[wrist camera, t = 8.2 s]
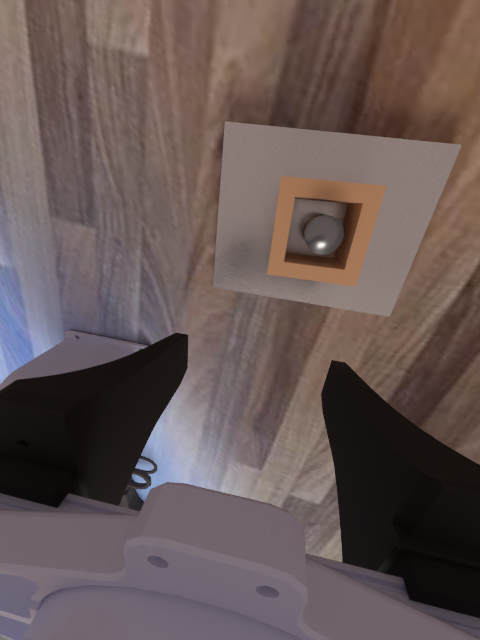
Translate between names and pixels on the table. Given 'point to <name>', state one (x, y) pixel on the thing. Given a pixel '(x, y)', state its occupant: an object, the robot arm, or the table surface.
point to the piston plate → (324, 209)
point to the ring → (356, 228)
